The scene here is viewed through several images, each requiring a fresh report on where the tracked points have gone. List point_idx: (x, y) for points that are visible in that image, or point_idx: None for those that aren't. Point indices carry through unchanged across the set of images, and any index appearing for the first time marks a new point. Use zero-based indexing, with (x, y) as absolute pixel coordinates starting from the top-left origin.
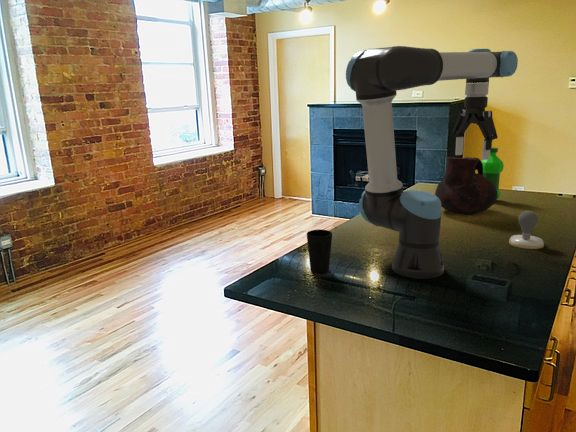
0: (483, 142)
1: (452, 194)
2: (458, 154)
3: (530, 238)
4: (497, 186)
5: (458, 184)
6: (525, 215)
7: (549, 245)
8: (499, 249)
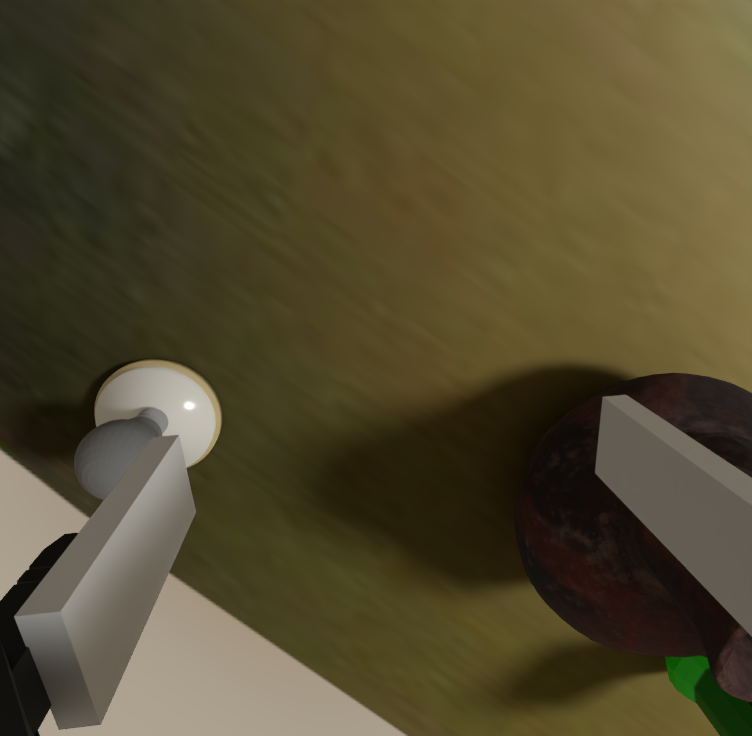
0: (65, 585)
1: None
2: (602, 423)
3: None
4: (702, 705)
5: None
6: (92, 447)
7: None
8: (125, 280)
